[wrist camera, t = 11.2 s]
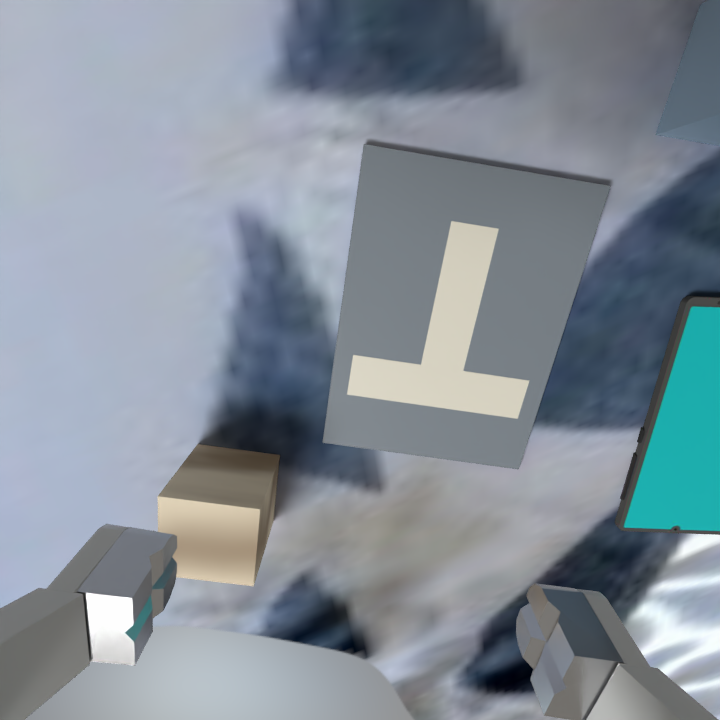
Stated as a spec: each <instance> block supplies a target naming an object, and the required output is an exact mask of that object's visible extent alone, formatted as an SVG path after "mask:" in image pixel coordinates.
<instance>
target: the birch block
mask: <svg viewBox="0 0 720 720" xmlns="http://www.w3.org/2000/svg"><path fill="white" fill-rule="evenodd" d="M279 460H280V455H276V454H268V453H261V452H253V451H246V450H238V449H231V448H224V447H216V446H209V445H201V444H198V445H197V446H196V447H195V448H194V450H193V451H192V452H191V454H190V455H189V456H188V458H187V459H186V460H185V461H184V463H183V464H182V465H181V467H180V468H179V469H178V471H177V472H176V473H175V475H174V476H173V477H172V478H171V480H170V481H169V482H168V484H167V485H166V486H165V488H164V489H163V490H162V491H161V493H160V494H159V495H158V532H162V533H168V534H174V535H176V536H177V549H176V551H175V553H174V555H173V556H172V557H173V558H174V560H175V561H176V562H177V574H176V577H180V578H189V579H197V580H206V581H214V582H222V583H231V584H239V585H248V586H254V583H255V580H256V577H257V573H258V570H259V567H260V563H261V560H262V557H263V554H264V550H265V547H266V544H267V540H268V537H269V534H270V530H271V527H272V524H273V519H274V510H275V500H276V490H277V480H278V470H279Z"/></svg>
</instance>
